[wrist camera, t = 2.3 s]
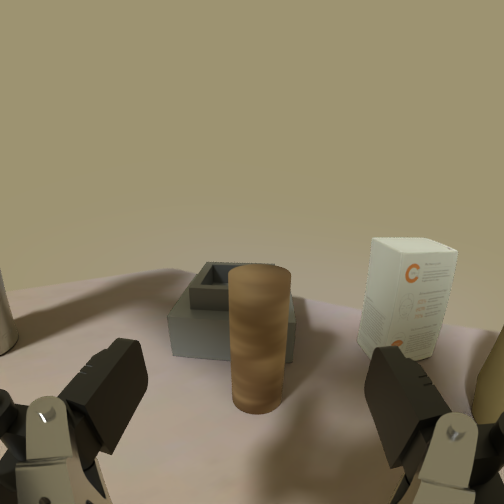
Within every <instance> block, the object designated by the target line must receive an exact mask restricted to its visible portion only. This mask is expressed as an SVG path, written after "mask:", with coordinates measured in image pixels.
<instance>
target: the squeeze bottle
mask: <svg viewBox="0 0 504 504" xmlns="http://www.w3.org/2000/svg"><path fill="white" fill-rule="evenodd" d="M503 412H504V326H503V328H502V330H501V332H500V334H499V337H498V339H497V341H496V343H495V345H494V347H493V349H492V351H491V352H490V354H489V356H488V358H487V360H486V362H485V364H484V365H483V367H482V369H481V371H480V373H479V374H478V378H477V384H476V390H475V395H474V400H473V405H472V414H473V416H474V419H475V421H476V422H477V423H478V424H490V423H496V421H497V420H498V418H499V417H500V415H501V414H502V413H503Z"/></svg>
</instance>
